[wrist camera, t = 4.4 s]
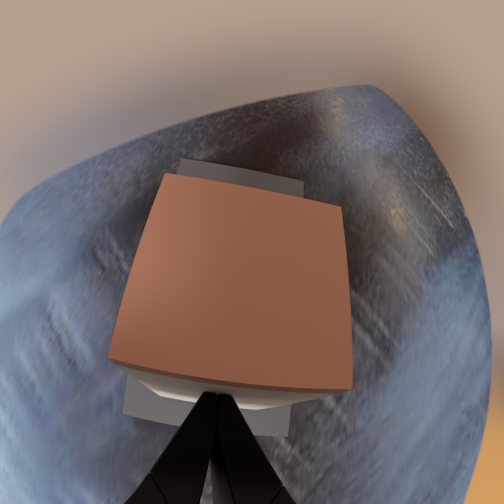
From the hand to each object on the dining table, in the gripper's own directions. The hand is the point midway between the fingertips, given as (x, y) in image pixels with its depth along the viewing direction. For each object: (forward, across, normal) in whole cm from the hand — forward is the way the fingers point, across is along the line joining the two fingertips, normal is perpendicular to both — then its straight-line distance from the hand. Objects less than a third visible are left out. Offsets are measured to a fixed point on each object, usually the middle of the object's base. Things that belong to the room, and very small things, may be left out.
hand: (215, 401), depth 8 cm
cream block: (+6, 0, +4) cm, 7 cm away
